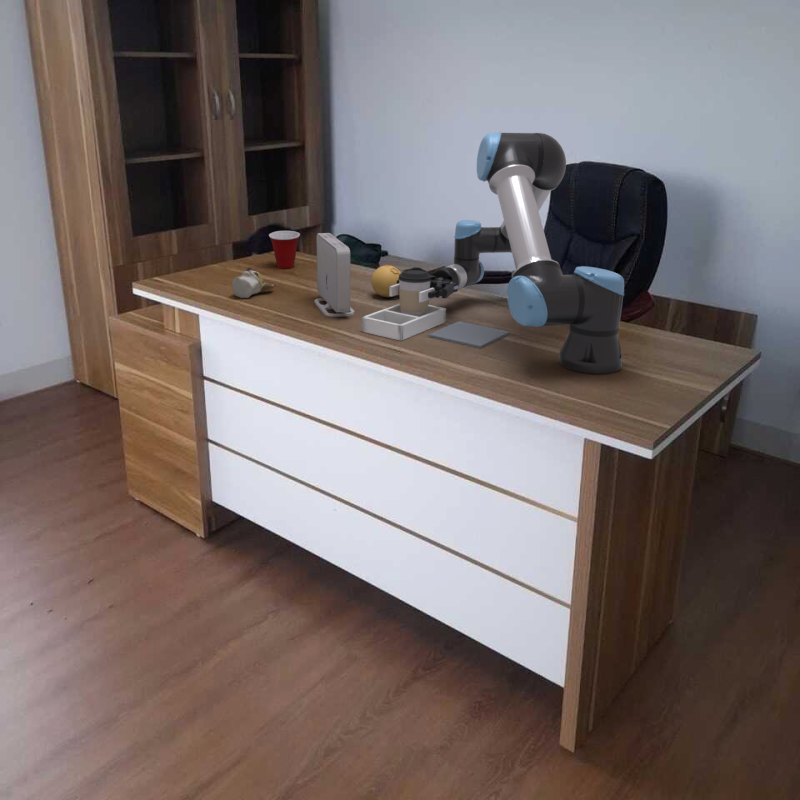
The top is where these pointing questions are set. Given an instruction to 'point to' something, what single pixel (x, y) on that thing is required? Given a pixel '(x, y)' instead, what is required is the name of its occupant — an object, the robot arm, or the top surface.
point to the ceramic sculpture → (250, 284)
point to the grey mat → (469, 334)
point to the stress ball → (384, 279)
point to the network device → (333, 275)
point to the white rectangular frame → (401, 322)
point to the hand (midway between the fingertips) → (405, 294)
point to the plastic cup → (284, 248)
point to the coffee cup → (413, 291)
